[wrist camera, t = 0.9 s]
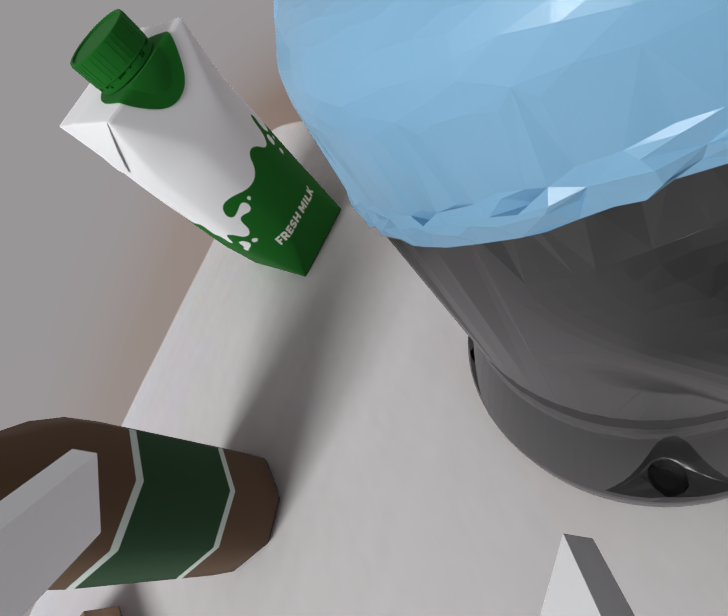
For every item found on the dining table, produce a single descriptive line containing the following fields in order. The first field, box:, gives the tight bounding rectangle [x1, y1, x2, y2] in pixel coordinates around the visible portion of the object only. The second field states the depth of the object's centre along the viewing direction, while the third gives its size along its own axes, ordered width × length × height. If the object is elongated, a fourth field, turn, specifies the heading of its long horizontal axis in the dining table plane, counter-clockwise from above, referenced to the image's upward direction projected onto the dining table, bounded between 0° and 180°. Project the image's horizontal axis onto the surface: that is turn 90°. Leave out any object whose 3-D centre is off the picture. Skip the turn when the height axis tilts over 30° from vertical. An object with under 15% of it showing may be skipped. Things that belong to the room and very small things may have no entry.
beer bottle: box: [0, 417, 280, 590], centre depth 21 cm, size 8×8×24 cm
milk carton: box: [60, 9, 341, 276], centre depth 31 cm, size 9×9×20 cm
